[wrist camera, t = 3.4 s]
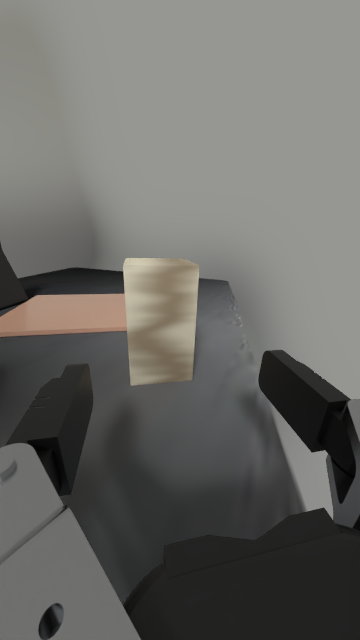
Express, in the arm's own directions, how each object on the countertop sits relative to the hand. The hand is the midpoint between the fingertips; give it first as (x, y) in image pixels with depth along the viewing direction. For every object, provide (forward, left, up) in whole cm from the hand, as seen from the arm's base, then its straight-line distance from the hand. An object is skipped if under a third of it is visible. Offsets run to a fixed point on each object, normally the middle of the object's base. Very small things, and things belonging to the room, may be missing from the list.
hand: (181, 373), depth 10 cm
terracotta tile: (-12, +28, -6) cm, 31 cm away
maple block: (0, +10, -6) cm, 12 cm away
